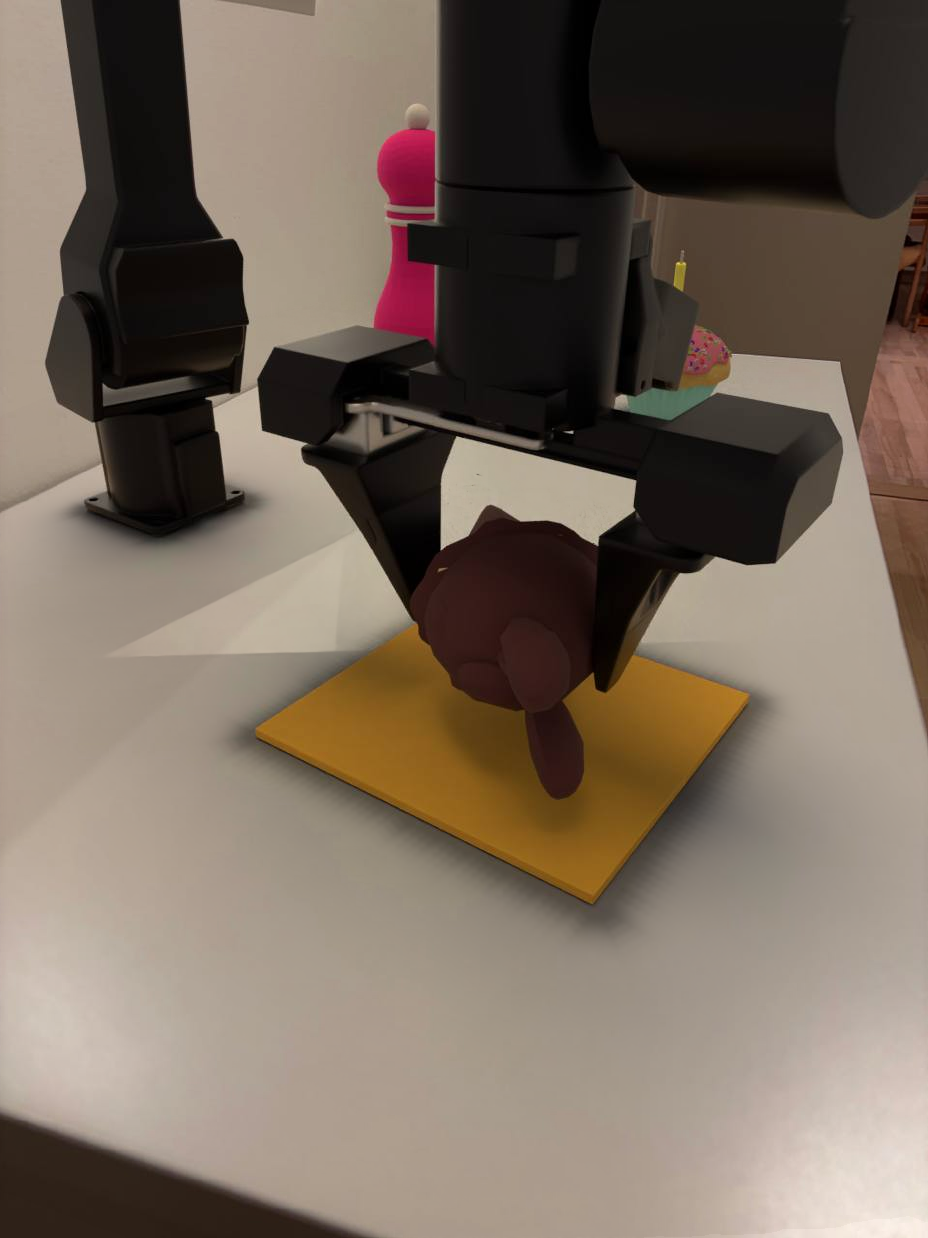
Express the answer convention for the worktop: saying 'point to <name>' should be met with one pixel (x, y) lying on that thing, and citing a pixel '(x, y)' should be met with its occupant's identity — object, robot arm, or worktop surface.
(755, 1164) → the worktop surface
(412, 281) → the pepper mill
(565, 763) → the brown lumpy figure
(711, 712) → the flat square board
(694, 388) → the cupcake
